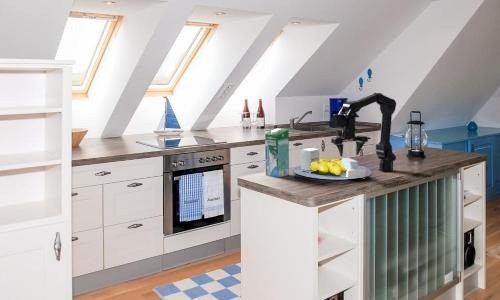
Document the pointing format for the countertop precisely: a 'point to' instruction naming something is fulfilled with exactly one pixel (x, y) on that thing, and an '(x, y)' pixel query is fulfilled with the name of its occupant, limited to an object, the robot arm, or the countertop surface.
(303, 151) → the supplement box
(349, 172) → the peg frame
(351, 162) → the pale blue block
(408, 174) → the countertop surface
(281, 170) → the milk carton
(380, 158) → the robot arm
